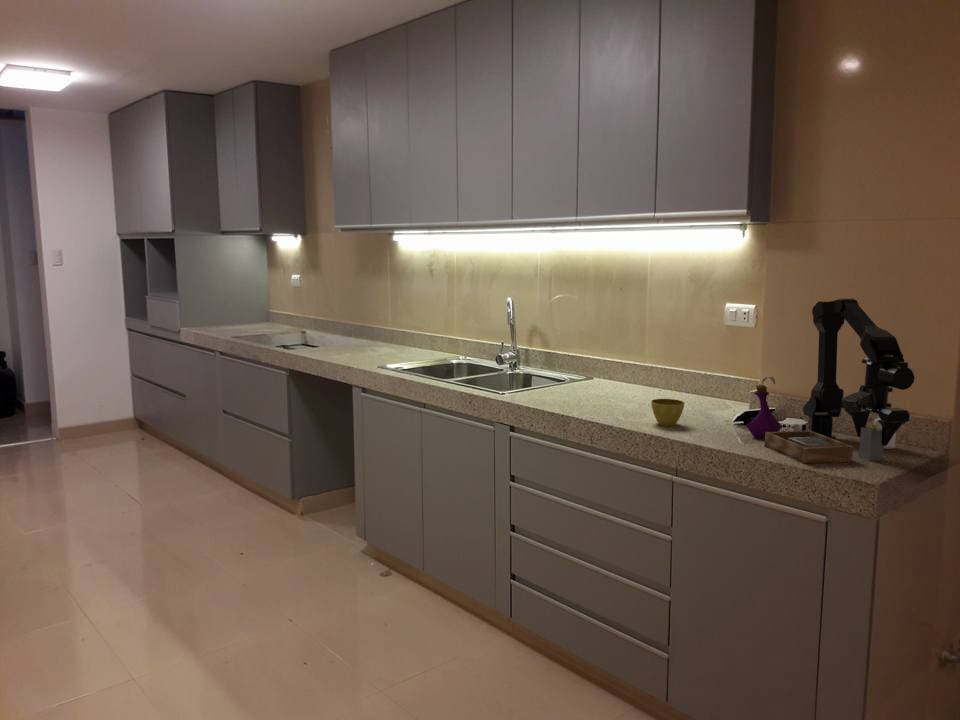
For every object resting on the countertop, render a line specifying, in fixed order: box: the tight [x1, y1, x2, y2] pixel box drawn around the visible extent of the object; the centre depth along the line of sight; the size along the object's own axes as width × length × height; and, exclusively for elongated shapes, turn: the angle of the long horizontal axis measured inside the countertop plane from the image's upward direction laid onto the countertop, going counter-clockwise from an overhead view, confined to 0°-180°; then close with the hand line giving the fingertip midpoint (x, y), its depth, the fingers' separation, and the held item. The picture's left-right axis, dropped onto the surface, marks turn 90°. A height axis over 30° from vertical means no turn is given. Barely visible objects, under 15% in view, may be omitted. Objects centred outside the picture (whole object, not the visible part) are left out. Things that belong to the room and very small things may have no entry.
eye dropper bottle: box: [873, 417, 897, 450], centre depth 215 cm, size 4×6×12 cm
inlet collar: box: [788, 437, 833, 448], centre depth 207 cm, size 8×8×3 cm
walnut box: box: [764, 430, 854, 464], centre depth 208 cm, size 18×14×4 cm
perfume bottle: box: [746, 376, 783, 440], centre depth 225 cm, size 8×8×18 cm
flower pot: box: [650, 398, 685, 427], centre depth 241 cm, size 10×10×7 cm
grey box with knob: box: [858, 424, 884, 462], centre depth 203 cm, size 4×4×9 cm
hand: (871, 441), depth 204 cm, fingers open, 9 cm apart
